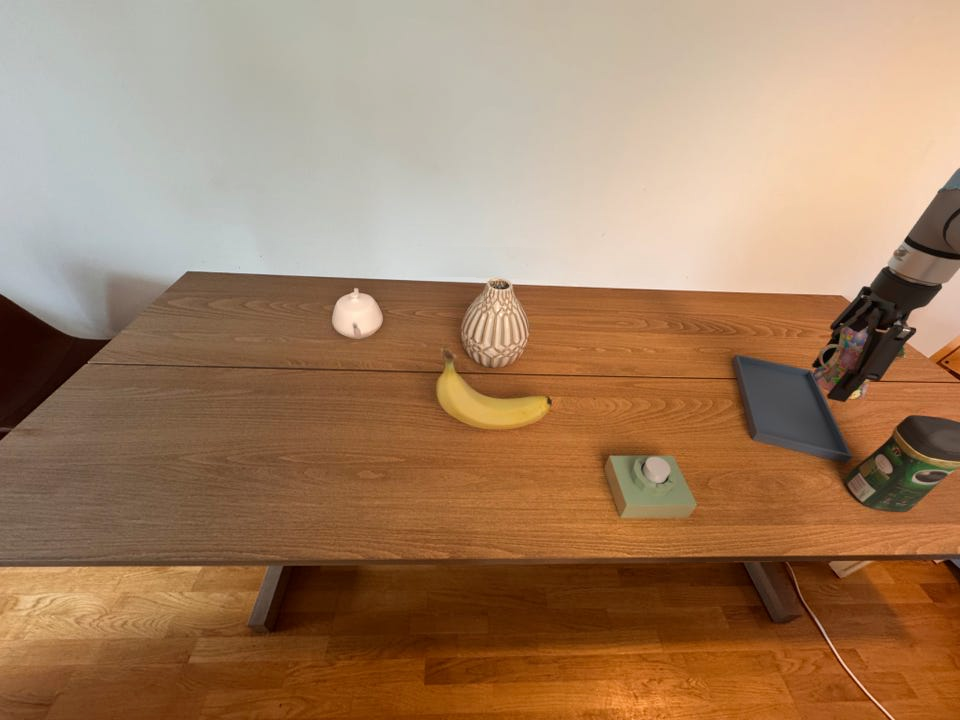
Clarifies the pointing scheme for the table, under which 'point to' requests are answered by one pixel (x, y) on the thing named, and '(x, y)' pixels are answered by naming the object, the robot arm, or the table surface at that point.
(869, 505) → the coffee jar
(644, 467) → the button
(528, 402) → the banana
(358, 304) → the teapot
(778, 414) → the tray
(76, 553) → the table surface
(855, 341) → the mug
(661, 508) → the green button box
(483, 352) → the vase
